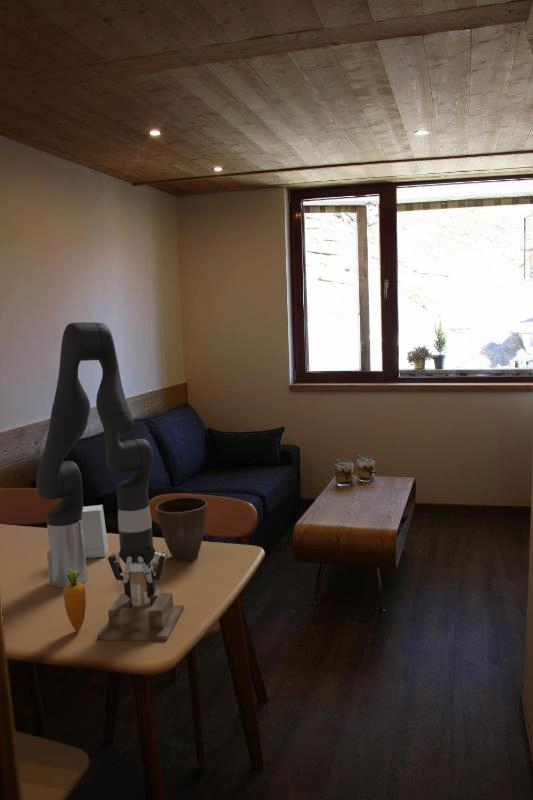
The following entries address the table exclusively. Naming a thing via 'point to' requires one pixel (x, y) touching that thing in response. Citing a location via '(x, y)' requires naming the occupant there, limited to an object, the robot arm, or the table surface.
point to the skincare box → (94, 531)
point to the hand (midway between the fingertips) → (140, 596)
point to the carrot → (75, 600)
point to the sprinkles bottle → (138, 587)
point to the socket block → (142, 619)
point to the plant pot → (182, 526)
